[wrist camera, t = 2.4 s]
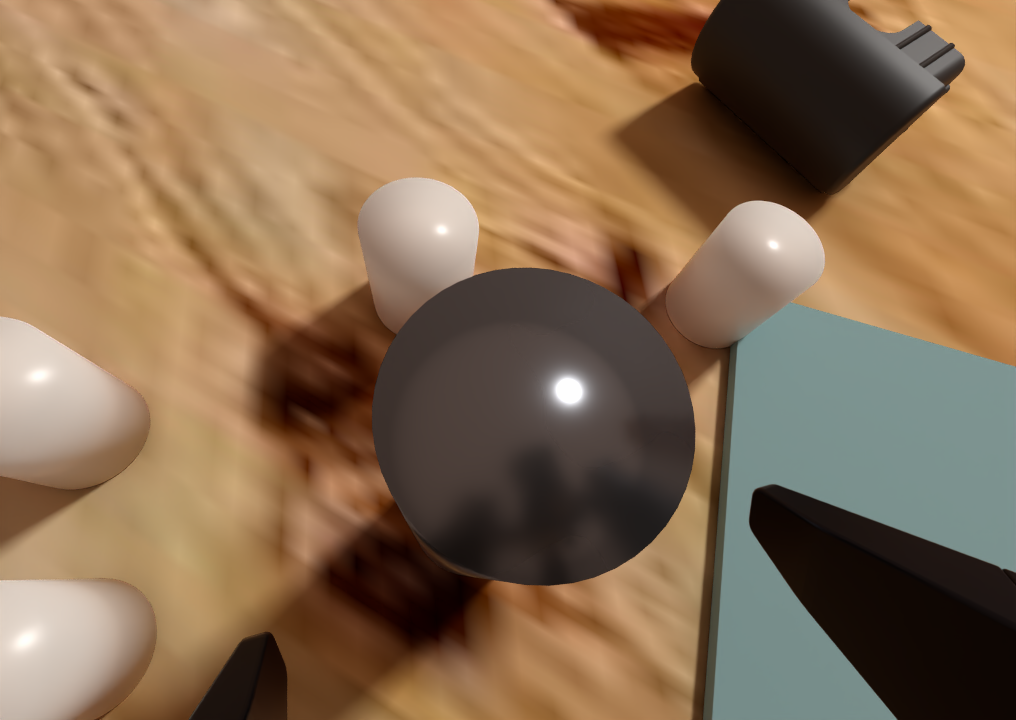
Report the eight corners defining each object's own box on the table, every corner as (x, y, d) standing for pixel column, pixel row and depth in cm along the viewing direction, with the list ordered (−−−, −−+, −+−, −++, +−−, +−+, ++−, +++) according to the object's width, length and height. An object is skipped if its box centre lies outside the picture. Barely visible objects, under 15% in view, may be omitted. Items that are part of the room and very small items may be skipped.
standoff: (507, 595, 18) (652, 644, 6) (391, 547, 18) (307, 502, 6) (548, 477, 20) (721, 333, 8) (441, 433, 20) (452, 226, 8)
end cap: (665, 97, 29) (729, -34, 22) (745, 54, 31) (824, -75, 25) (798, 223, 26) (910, 117, 20) (874, 166, 29) (995, 55, 23)
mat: (1097, 857, 17) (1119, 866, 17) (700, 754, 17) (709, 760, 16) (1015, 374, 24) (1028, 370, 24) (734, 294, 24) (741, 288, 24)
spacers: (836, 492, 21) (949, 470, 16) (4, 748, 15) (-191, 827, 10) (703, 213, 26) (762, 135, 21) (28, 316, 19) (-98, 238, 15)
